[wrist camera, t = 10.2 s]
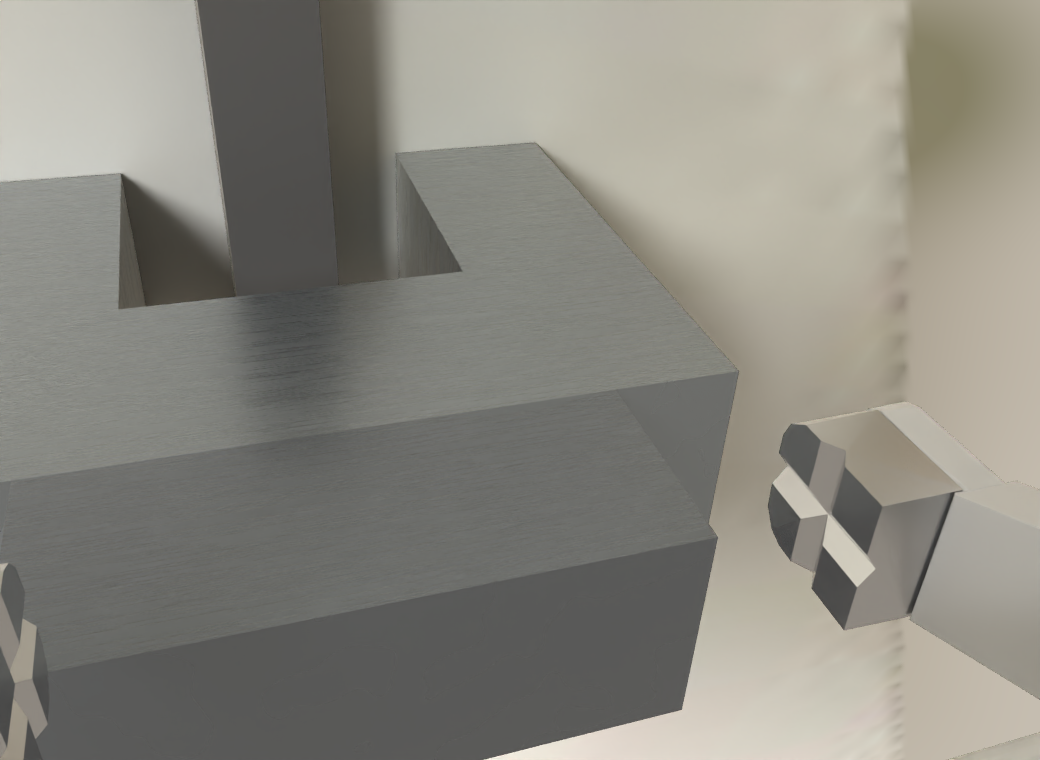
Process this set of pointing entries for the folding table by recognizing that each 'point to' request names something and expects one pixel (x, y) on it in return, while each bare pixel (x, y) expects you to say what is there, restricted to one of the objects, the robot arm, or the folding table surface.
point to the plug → (271, 141)
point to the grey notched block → (357, 481)
